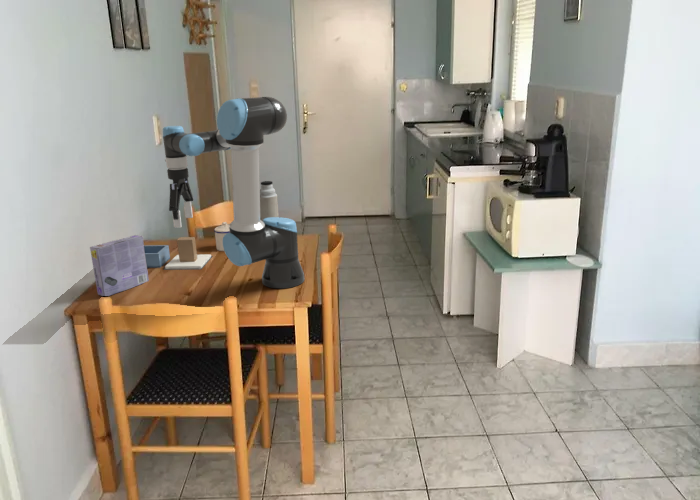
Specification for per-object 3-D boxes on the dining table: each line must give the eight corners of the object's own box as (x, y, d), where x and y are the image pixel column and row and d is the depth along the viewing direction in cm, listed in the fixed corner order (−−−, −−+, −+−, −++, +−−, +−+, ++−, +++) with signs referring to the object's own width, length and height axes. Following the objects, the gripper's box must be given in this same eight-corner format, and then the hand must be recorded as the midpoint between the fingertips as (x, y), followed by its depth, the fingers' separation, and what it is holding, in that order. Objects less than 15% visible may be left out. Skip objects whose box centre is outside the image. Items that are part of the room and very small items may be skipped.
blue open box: (160, 268, 222) (158, 253, 220) (132, 268, 223) (130, 254, 221) (170, 259, 233) (168, 245, 231) (143, 259, 233) (141, 245, 231)
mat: (201, 270, 219) (201, 269, 219) (163, 270, 220) (163, 269, 220) (213, 256, 234) (213, 255, 234) (177, 257, 235) (177, 256, 235)
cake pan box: (144, 278, 212) (137, 232, 207) (152, 280, 210) (145, 234, 204) (96, 295, 197) (88, 246, 192) (105, 298, 195) (96, 249, 189)
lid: (201, 268, 220) (198, 243, 217) (165, 268, 220) (161, 244, 217) (211, 256, 233) (208, 233, 230) (177, 257, 234) (174, 233, 231)
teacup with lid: (230, 253, 238) (227, 226, 235) (211, 251, 242) (209, 224, 238) (245, 244, 249) (243, 218, 245) (227, 242, 252) (225, 217, 249)
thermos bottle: (273, 242, 252) (268, 179, 243) (284, 245, 246) (280, 181, 237) (258, 246, 246) (253, 182, 238) (269, 249, 241) (264, 184, 232)
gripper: (178, 162, 227) (184, 214, 234) (155, 174, 203) (162, 231, 210) (197, 162, 227) (202, 213, 233) (176, 174, 203) (182, 231, 210)
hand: (183, 222), depth 222 cm, fingers open, 13 cm apart
